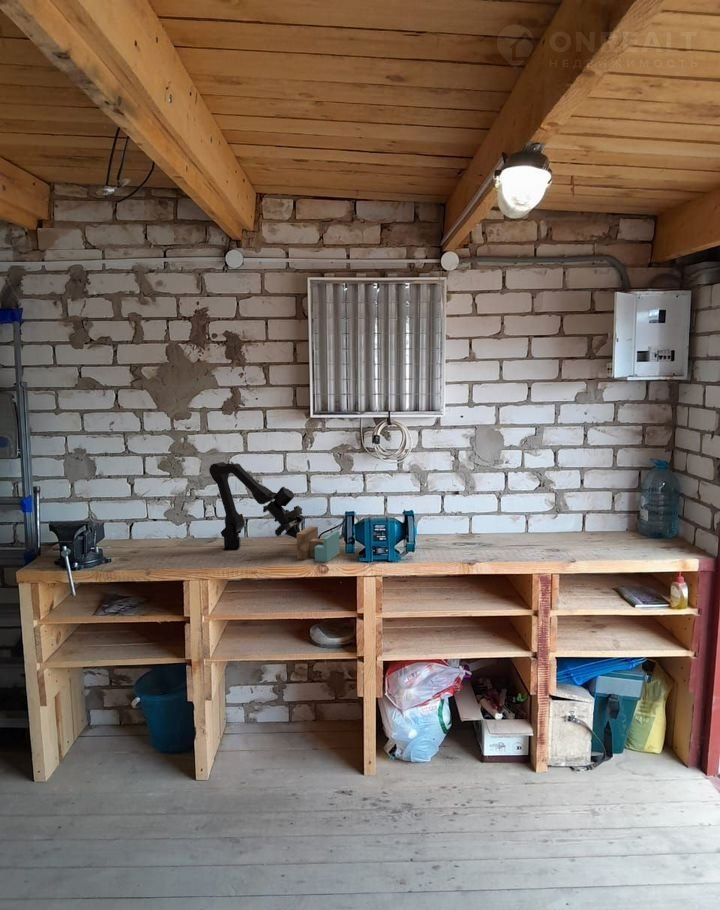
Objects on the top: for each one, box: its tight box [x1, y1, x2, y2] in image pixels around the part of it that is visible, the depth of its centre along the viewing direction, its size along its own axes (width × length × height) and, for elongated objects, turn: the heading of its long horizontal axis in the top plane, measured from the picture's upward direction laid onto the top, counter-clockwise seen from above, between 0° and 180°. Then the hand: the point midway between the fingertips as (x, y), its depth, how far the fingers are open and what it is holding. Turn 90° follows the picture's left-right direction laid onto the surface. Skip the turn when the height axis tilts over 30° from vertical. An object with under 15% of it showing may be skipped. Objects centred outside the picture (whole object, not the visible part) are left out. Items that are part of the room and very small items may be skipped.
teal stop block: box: [314, 529, 341, 563], centre depth 269 cm, size 6×14×10 cm, turn 160°
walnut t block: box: [296, 525, 323, 561], centre depth 271 cm, size 12×13×11 cm
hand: (302, 539), depth 273 cm, fingers closed, pressing on walnut t block
